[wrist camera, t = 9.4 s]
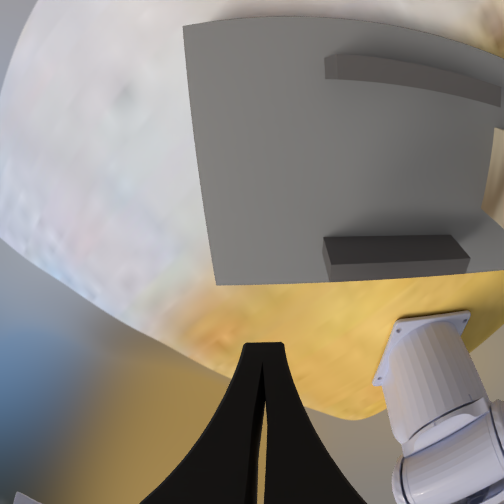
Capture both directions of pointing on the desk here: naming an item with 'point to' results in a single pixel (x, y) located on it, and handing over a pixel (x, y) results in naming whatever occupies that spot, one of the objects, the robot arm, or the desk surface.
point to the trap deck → (342, 150)
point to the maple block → (495, 181)
